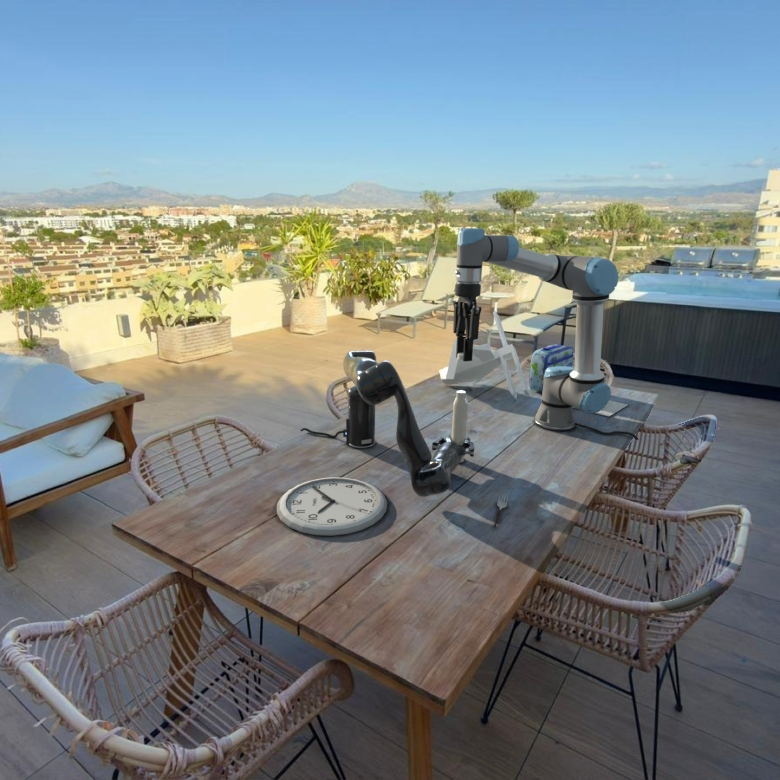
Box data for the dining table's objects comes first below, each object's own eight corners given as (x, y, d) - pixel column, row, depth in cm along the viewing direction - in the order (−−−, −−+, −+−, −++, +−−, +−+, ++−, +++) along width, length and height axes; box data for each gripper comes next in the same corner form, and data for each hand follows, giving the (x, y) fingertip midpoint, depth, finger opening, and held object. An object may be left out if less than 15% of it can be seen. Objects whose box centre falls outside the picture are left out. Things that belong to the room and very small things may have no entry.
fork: (489, 527, 133) (489, 520, 132) (498, 498, 147) (499, 492, 147) (499, 529, 132) (500, 523, 132) (508, 500, 147) (508, 494, 146)
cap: (466, 361, 159) (466, 356, 159) (454, 359, 162) (455, 354, 161) (472, 358, 162) (473, 353, 162) (461, 356, 165) (461, 351, 164)
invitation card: (608, 416, 214) (573, 407, 224) (608, 416, 214) (573, 408, 224) (628, 404, 229) (594, 396, 238) (628, 405, 229) (594, 397, 238)
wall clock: (392, 527, 129) (268, 531, 127) (391, 533, 130) (269, 537, 127) (383, 473, 158) (282, 475, 155) (383, 478, 158) (282, 480, 156)
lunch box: (545, 397, 238) (550, 352, 231) (524, 391, 245) (529, 348, 239) (572, 386, 255) (578, 344, 249) (552, 381, 262) (557, 340, 256)
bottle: (448, 458, 173) (451, 390, 166) (460, 456, 175) (464, 389, 168) (453, 463, 169) (457, 394, 162) (466, 462, 171) (470, 393, 164)
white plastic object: (461, 429, 252) (437, 405, 227) (444, 352, 274) (420, 323, 250) (535, 404, 240) (518, 377, 215) (510, 326, 262) (492, 293, 237)
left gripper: (471, 450, 154) (482, 430, 169) (424, 443, 159) (439, 424, 174) (469, 473, 156) (480, 452, 171) (423, 465, 161) (438, 445, 176)
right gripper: (444, 279, 161) (441, 353, 168) (470, 285, 146) (466, 366, 153) (465, 279, 164) (461, 352, 171) (494, 285, 149) (488, 364, 156)
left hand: (460, 438), depth 172 cm, fingers closed on bottle, 4 cm apart
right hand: (463, 358), depth 162 cm, fingers closed on cap, 4 cm apart
